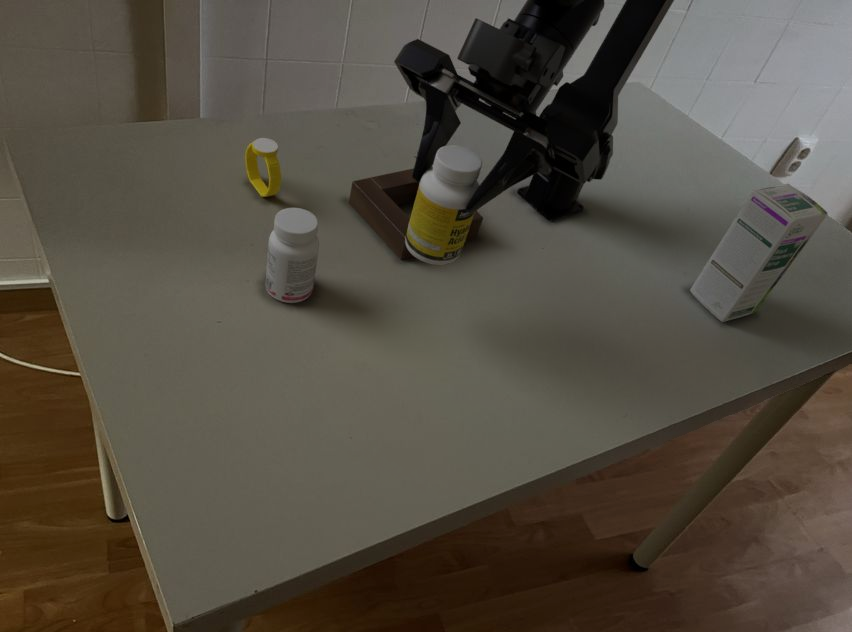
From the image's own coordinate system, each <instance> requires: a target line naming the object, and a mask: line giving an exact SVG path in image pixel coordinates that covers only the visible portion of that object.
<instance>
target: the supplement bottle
mask: <svg viewBox="0 0 852 632" xmlns="http://www.w3.org/2000/svg"><path fill="white" fill-rule="evenodd" d="M482 167H483V161H482V158H481V157H480V155H478V154H477V153H476V152H475V151H473V150H471V149H470V148H467V147H466V146H465V147H464V146H460V145H454V144H447V145H446V146H443V147H441V148H440V149H438V151H437V153H436V156H435V159H434V163H433V165H432V167H431V168H430V169H428V170H427V171H426V172H425V173H424V174H423V175H422V178H421V180H420V183H419V187H418V191H417V195H416V199H415V202H413V207H412V210H411V215H410V217H409V218H410V221H409V225H408V229H407V233H406V238H405V243H406V247H407V249H408V250H409V252H410V253H411V254H412V255H413V256H412V257H415V258H416V259H417V260H419V261H421V262H424V263H426V264H429V265H430V264H431V265H433V266H434V265H435V266H444V265H449V264H451V263H454V262H455V261H456V260H457V259H459V257H460V256H461V253H462V251H463V248H464V245H465V242H466V241H465V240H466V237H467V234H468V231H469V228H470V225H471V222H472V219H473V216H474V213H475V212H473V213H472V214H470V213H468V212H467V211H466V206H467V204H468V203H469V201H470V199H471V197H472V196H473V194H474V192H475V191H476V190H477V188H478V187H479V186H480V183H479V181H478V179H479V178H480V177H479V176H480V173H481V170H482Z"/></svg>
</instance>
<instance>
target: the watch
mask: <svg viewBox="0 0 852 632" xmlns="http://www.w3.org/2000/svg"><path fill="white" fill-rule="evenodd" d="M278 152H279V146H278V143H277V142H276V141H274V140H273V139H270V138H268V137H259V138H256V139H254V140H253V141H252V142H250V143H249V144H248V146H247V147H246V150H245V156H244V162H245V170H246V174H247V177H248V181H249V183H250V184H251V185H252V187H254V189H255V190H256V192H257V193H258V195H260V197H261V198H267V197H272V196H276V195H277V194H278V192H279V191H280V189H281V184H282V172H281V165H280V162H279V159H278V156H277V154H278ZM258 157H261V158H263V159H264V161H265V164H266V167H267V168H266V169H267V174H268V186H267V184H266V183H265V182H264V180H263V178H262V177H261V173H260V170H259V167H258V165H259V164H258Z"/></svg>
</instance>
